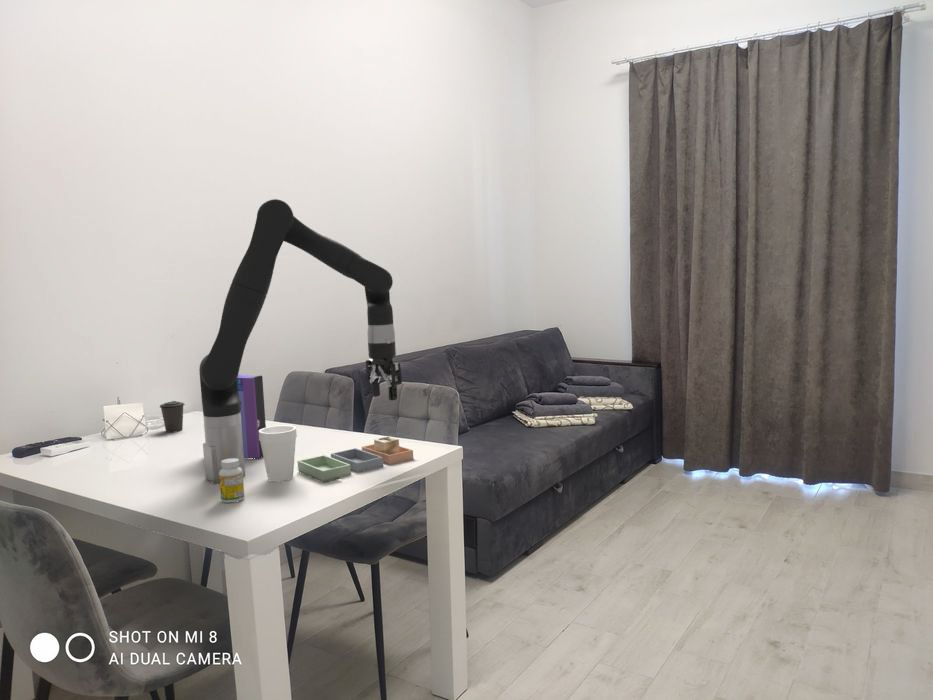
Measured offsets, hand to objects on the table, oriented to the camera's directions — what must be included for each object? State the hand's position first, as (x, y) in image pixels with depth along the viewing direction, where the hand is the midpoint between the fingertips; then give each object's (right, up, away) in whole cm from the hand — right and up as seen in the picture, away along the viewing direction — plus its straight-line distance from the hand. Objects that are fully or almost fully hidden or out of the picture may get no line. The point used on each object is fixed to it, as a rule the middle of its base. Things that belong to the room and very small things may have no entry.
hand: (384, 398), depth 196 cm
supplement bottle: (-33, -22, -30) cm, 49 cm away
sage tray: (-15, -19, -11) cm, 27 cm away
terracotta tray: (+1, -17, +2) cm, 17 cm away
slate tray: (-7, -18, -4) cm, 20 cm away
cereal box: (-45, -18, +11) cm, 49 cm away
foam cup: (-26, -20, -13) cm, 35 cm away
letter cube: (+1, -17, +2) cm, 17 cm away
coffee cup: (-79, -15, +49) cm, 94 cm away
